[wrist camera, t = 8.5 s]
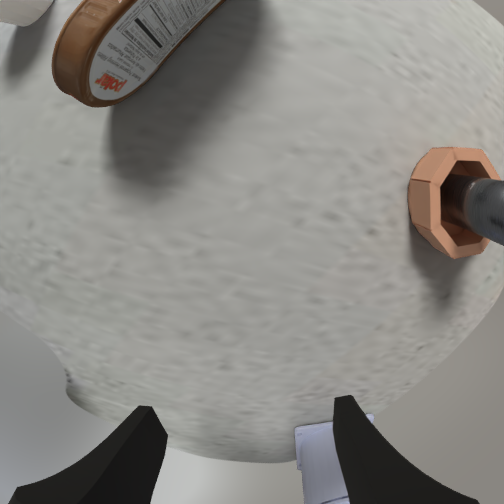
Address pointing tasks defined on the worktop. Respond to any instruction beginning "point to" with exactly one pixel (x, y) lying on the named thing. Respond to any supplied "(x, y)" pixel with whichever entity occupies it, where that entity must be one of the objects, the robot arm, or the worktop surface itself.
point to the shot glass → (22, 11)
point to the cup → (428, 198)
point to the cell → (474, 205)
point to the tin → (121, 45)
